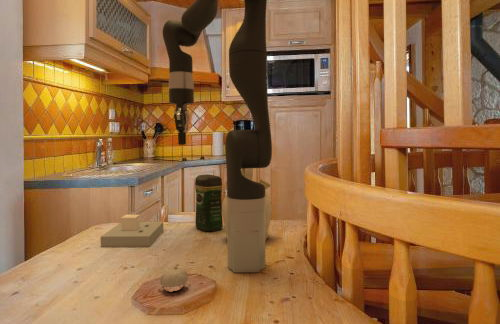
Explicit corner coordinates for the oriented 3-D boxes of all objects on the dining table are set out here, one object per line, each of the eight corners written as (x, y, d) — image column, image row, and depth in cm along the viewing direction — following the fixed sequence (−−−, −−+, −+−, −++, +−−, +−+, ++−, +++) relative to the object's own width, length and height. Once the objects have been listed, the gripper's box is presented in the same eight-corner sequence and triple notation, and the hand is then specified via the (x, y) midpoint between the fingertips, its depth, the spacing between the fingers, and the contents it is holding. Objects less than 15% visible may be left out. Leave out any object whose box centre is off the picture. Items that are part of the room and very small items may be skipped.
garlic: (176, 282, 85) (176, 259, 85) (193, 288, 82) (193, 264, 81) (154, 291, 81) (153, 266, 80) (171, 298, 77) (170, 272, 77)
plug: (136, 238, 119) (135, 217, 118) (121, 238, 119) (121, 217, 118) (140, 234, 123) (139, 214, 123) (126, 234, 123) (125, 214, 123)
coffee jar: (226, 229, 132) (226, 175, 130) (206, 233, 127) (205, 176, 125) (211, 224, 139) (211, 172, 138) (192, 227, 135) (191, 174, 133)
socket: (149, 246, 112) (149, 234, 112) (101, 246, 112) (100, 234, 112) (163, 230, 130) (163, 220, 130) (121, 231, 130) (121, 220, 130)
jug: (272, 232, 127) (272, 156, 125) (270, 246, 112) (270, 159, 110) (226, 231, 129) (225, 156, 127) (218, 245, 113) (217, 159, 111)
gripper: (190, 85, 113) (191, 145, 114) (196, 90, 126) (197, 144, 128) (164, 85, 113) (165, 145, 114) (173, 90, 126) (174, 144, 127)
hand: (182, 144), depth 121 cm, fingers closed
